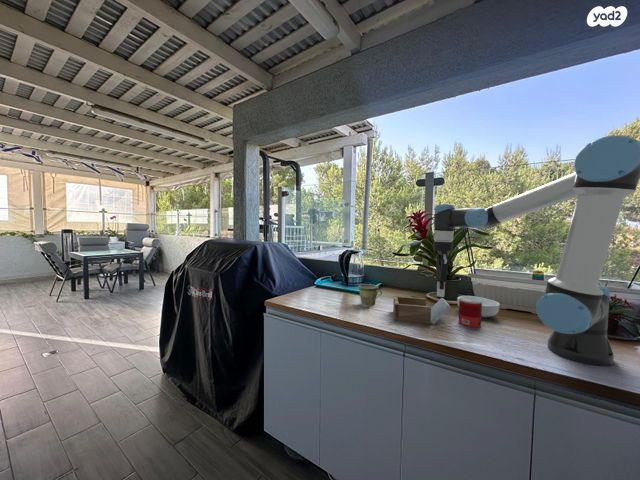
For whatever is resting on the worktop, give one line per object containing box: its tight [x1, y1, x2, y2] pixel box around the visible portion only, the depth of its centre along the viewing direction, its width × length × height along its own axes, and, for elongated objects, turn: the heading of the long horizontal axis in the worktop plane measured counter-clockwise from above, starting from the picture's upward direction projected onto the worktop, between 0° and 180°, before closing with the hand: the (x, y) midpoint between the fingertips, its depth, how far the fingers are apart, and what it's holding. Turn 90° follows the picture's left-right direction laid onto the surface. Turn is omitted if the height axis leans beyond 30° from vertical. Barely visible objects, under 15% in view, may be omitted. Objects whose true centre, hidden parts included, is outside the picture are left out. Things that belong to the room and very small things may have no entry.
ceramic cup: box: [358, 283, 383, 308], centre depth 132 cm, size 13×10×10 cm
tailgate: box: [431, 297, 452, 325], centre depth 111 cm, size 12×10×1 cm
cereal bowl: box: [456, 295, 501, 318], centre depth 120 cm, size 17×17×7 cm
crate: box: [392, 295, 434, 326], centre depth 113 cm, size 14×15×8 cm
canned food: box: [458, 297, 482, 329], centre depth 107 cm, size 8×8×11 cm
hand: (440, 296), depth 110 cm, fingers closed
